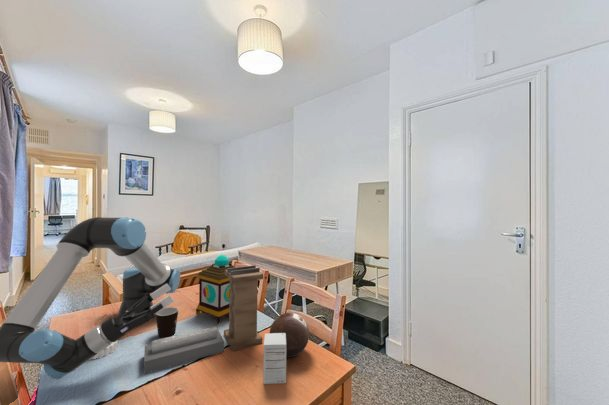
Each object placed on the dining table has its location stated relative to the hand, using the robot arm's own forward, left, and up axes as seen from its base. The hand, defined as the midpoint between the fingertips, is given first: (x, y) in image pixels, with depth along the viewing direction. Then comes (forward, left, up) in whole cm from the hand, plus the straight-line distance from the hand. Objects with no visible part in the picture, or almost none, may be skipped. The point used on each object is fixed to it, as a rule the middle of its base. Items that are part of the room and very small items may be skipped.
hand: (170, 291), depth 94 cm
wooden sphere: (+19, +39, -24) cm, 50 cm away
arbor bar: (0, +5, -20) cm, 21 cm away
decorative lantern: (-29, +25, -24) cm, 45 cm away
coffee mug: (-20, +1, -24) cm, 32 cm away
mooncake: (-18, -23, -25) cm, 38 cm away
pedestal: (0, +27, -24) cm, 36 cm away
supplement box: (+28, +29, -24) cm, 47 cm away
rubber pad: (0, +5, -24) cm, 25 cm away
